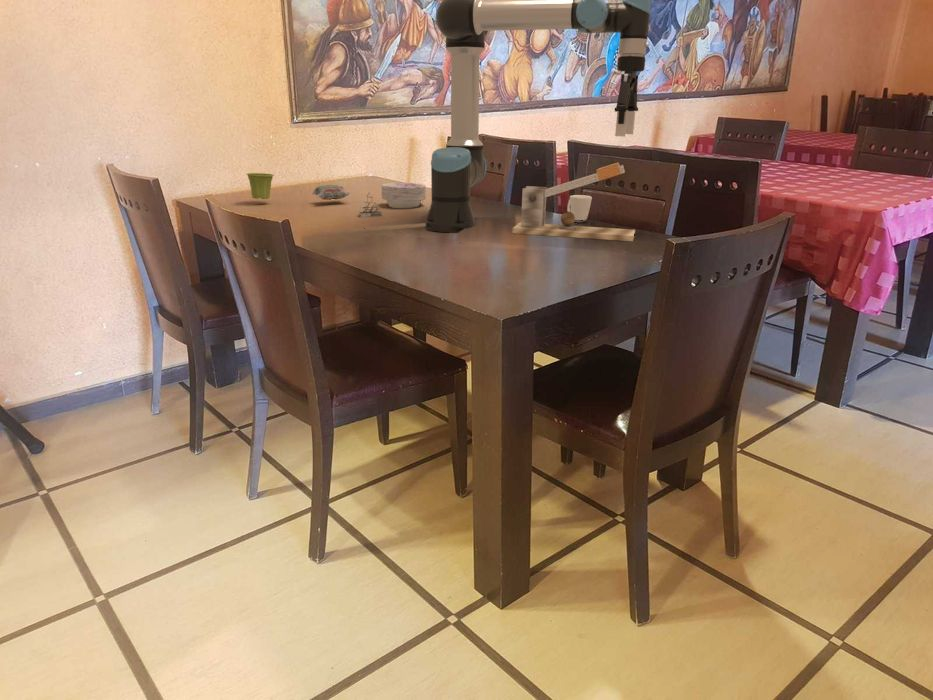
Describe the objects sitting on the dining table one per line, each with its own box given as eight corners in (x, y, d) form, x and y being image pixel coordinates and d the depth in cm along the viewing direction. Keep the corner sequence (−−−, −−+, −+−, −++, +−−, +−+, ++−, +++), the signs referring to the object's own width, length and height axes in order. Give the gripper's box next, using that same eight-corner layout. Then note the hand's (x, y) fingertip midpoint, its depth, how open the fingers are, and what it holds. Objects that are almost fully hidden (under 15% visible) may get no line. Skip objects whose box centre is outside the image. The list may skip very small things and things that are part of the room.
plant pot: (263, 196, 261) (262, 172, 259) (279, 198, 256) (278, 174, 253) (242, 197, 254) (241, 173, 251) (258, 200, 249) (257, 175, 246)
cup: (576, 224, 214) (578, 198, 211) (558, 219, 223) (560, 194, 220) (594, 223, 217) (596, 197, 214) (576, 218, 225) (578, 193, 223)
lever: (529, 204, 198) (526, 192, 198) (532, 202, 202) (528, 190, 201) (624, 174, 189) (621, 162, 188) (625, 173, 192) (622, 160, 191)
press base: (512, 233, 200) (514, 189, 195) (519, 227, 209) (521, 185, 204) (632, 241, 191) (637, 195, 187) (634, 234, 200) (639, 191, 196)
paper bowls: (419, 203, 250) (419, 181, 248) (430, 210, 237) (430, 186, 234) (378, 205, 246) (377, 182, 243) (387, 211, 232) (386, 187, 230)
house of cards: (383, 212, 232) (382, 189, 230) (387, 216, 224) (386, 192, 222) (356, 213, 230) (355, 189, 227) (359, 217, 222) (358, 193, 220)
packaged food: (349, 200, 252) (349, 187, 250) (317, 202, 248) (316, 188, 246) (343, 196, 260) (343, 183, 258) (312, 197, 255) (311, 184, 253)
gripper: (638, 53, 181) (630, 137, 189) (651, 58, 203) (643, 133, 211) (610, 53, 184) (602, 136, 191) (626, 58, 206) (619, 132, 213)
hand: (624, 135), depth 201 cm, fingers open, 13 cm apart
